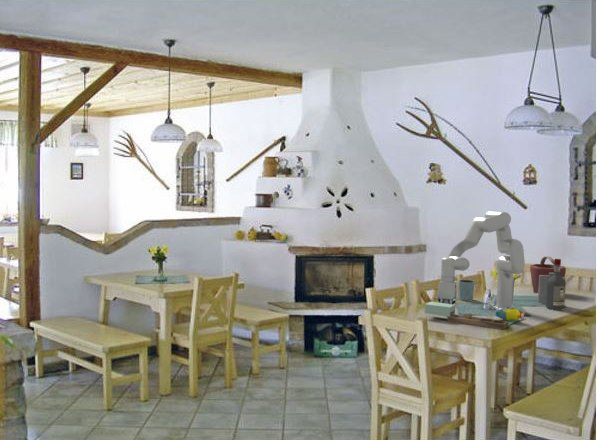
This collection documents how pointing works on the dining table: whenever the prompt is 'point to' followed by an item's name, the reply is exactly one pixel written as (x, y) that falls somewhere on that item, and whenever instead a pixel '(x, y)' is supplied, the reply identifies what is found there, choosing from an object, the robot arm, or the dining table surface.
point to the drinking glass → (466, 290)
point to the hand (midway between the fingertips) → (446, 310)
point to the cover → (439, 308)
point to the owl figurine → (509, 314)
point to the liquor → (556, 289)
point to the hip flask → (543, 287)
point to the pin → (446, 301)
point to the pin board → (478, 321)
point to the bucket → (543, 271)
